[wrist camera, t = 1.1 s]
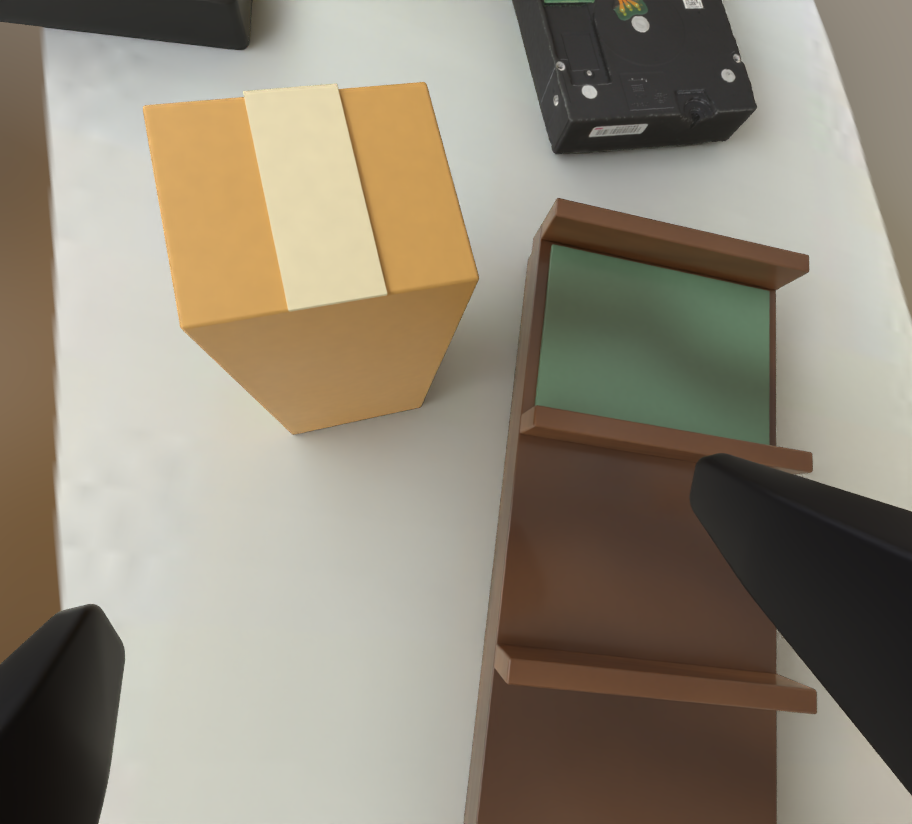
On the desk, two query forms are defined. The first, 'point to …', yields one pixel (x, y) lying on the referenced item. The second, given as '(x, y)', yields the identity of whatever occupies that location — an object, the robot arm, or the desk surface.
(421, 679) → the desk surface
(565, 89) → the disk drive
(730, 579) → the rack
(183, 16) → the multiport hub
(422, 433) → the desk surface
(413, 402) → the package
